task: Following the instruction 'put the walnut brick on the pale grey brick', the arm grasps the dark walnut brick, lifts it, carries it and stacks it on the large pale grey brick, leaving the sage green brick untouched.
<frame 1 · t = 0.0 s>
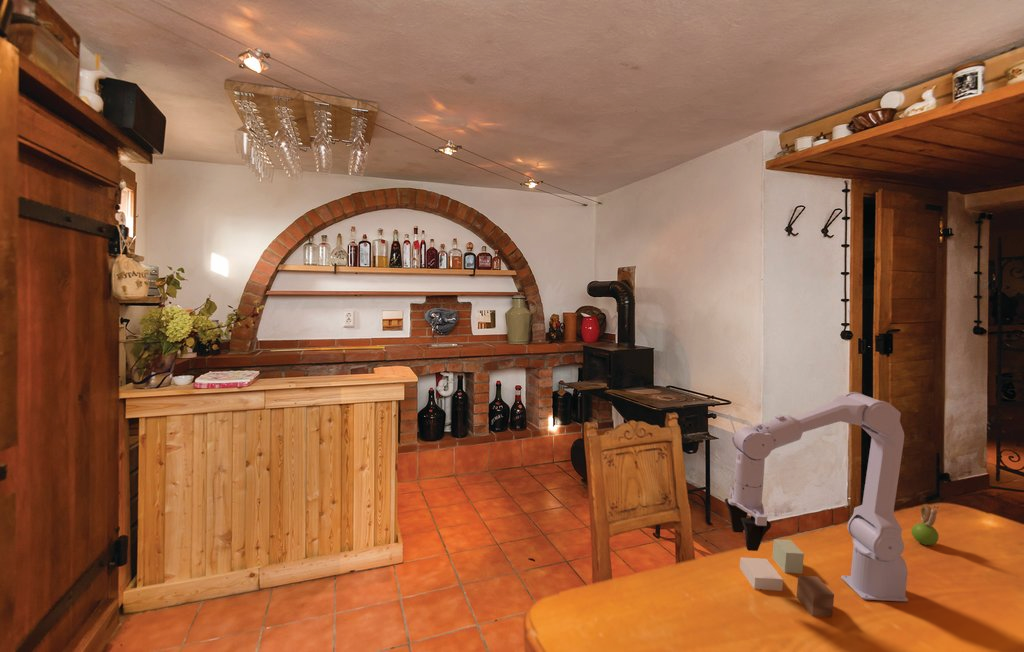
hand: (744, 540, 108), 10 cm above the table, tool pointing down, fingers open, 7 cm apart
pale grey brick: (760, 580, 111), on the table
green egg with ears: (924, 545, 127), on the table
walnut brick: (813, 607, 102), on the table
sage brick: (786, 565, 116), on the table
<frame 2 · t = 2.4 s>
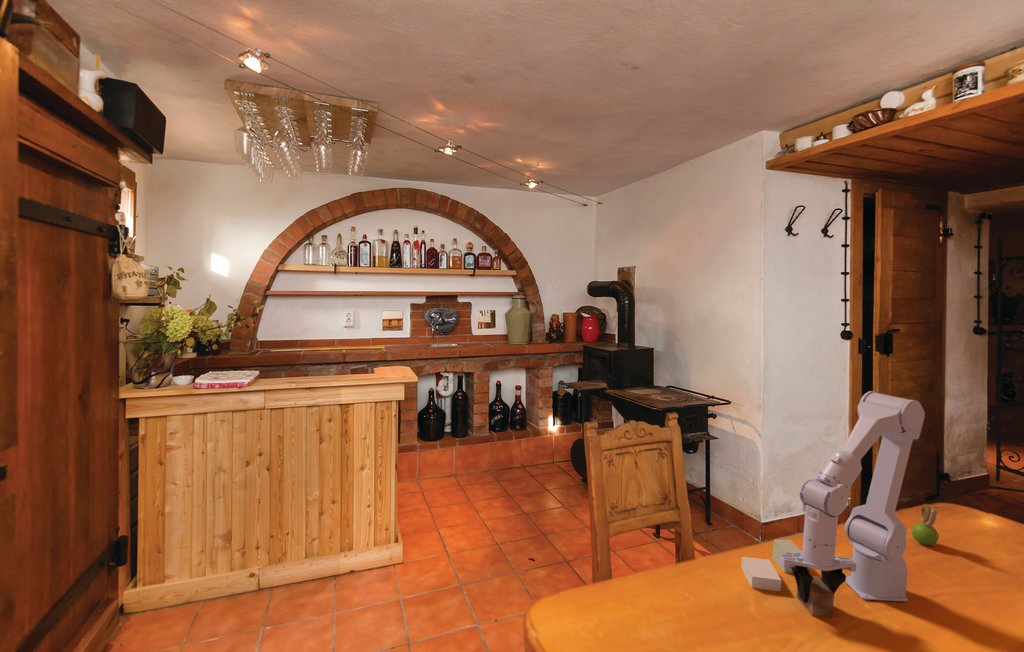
hand: (814, 600, 101), 1 cm above the table, tool pointing down, fingers closed on walnut brick, 4 cm apart
walnut brick: (813, 606, 102), on the table, touching gripper
everything else where it was.
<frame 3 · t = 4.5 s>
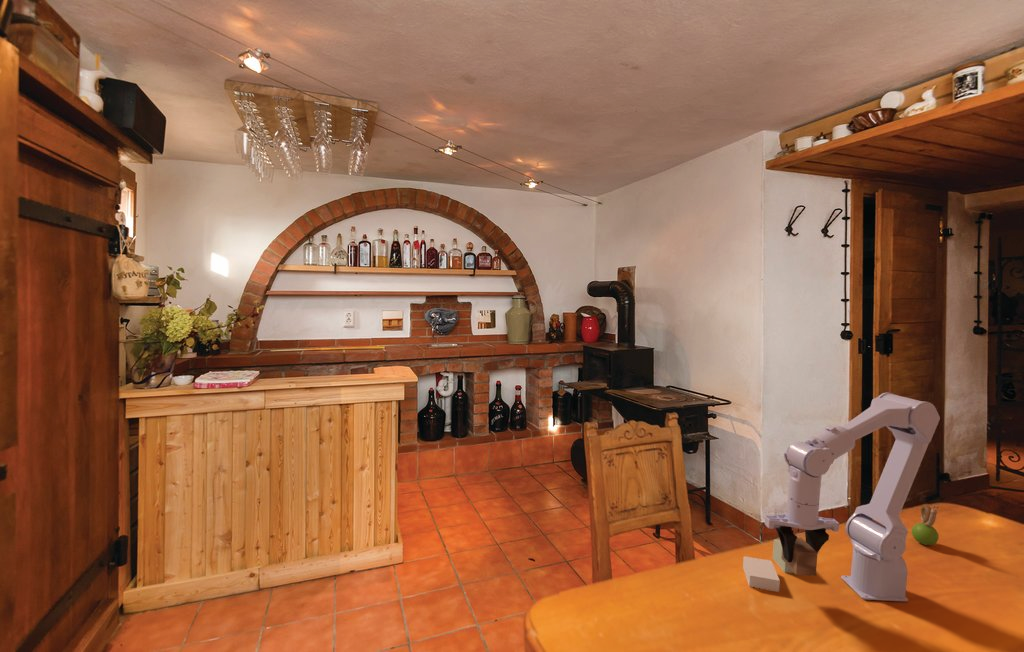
hand: (798, 560, 104), 8 cm above the table, tool pointing down, fingers closed on walnut brick, 4 cm apart
walnut brick: (798, 566, 104), point 7 cm above the table, touching gripper
everything else where it was.
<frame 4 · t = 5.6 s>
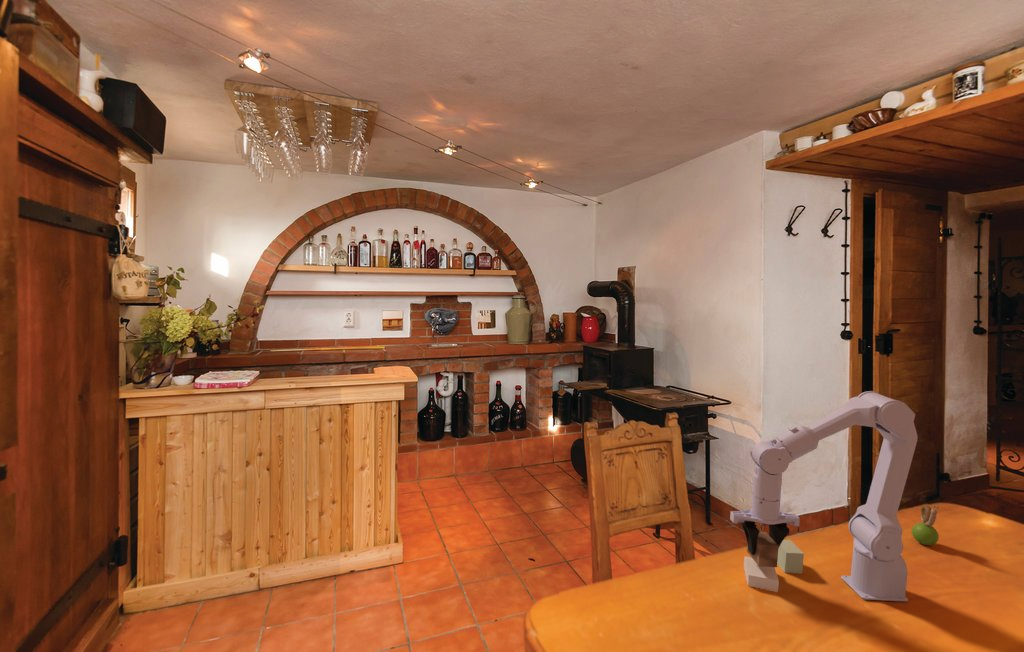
hand: (761, 553, 110), 6 cm above the table, tool pointing down, fingers closed on walnut brick, 4 cm apart
walnut brick: (761, 559, 110), point 5 cm above the table, touching gripper
everything else where it was.
when the fingers open (5 cm above the table, at t = 6.6 s): walnut brick drops 1 cm, resting on pale grey brick.
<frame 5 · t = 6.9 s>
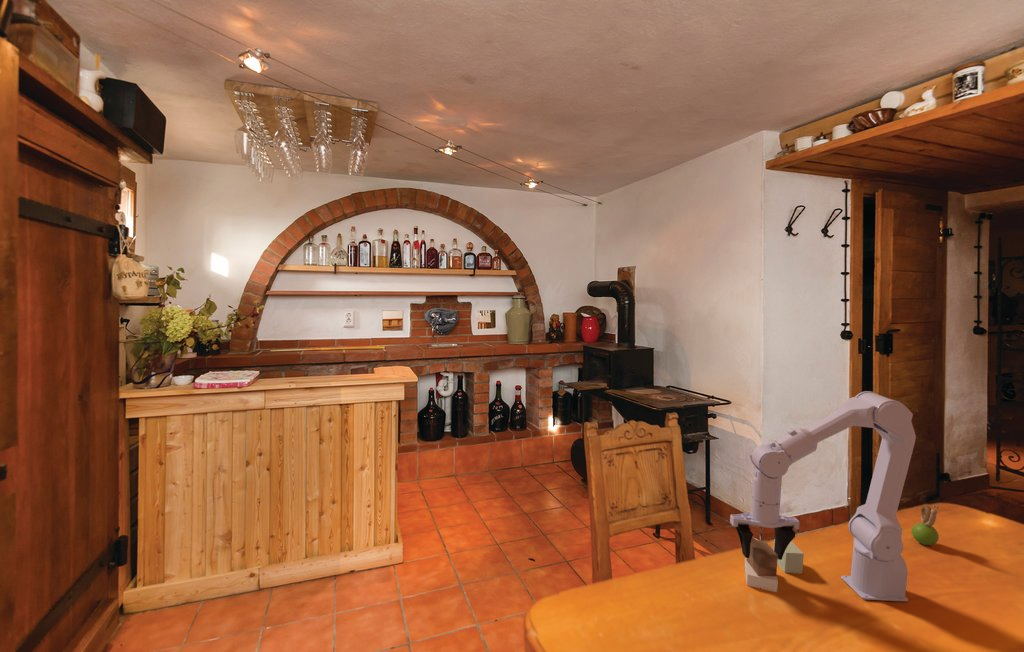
hand: (761, 556, 110), 5 cm above the table, tool pointing down, fingers open, 7 cm apart
pale grey brick: (760, 580, 111), on the table, touching walnut brick
walnut brick: (760, 568, 111), point 3 cm above the table, touching pale grey brick
everything else where it was.
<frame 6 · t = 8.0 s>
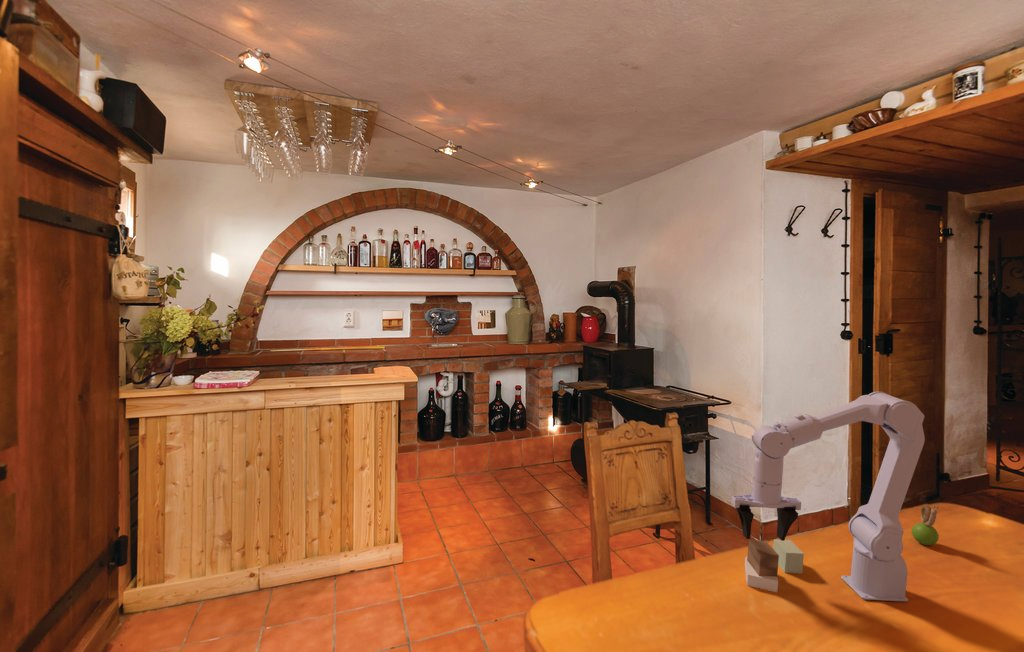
hand: (763, 537, 110), 10 cm above the table, tool pointing down, fingers open, 7 cm apart
nothing on the table moved.
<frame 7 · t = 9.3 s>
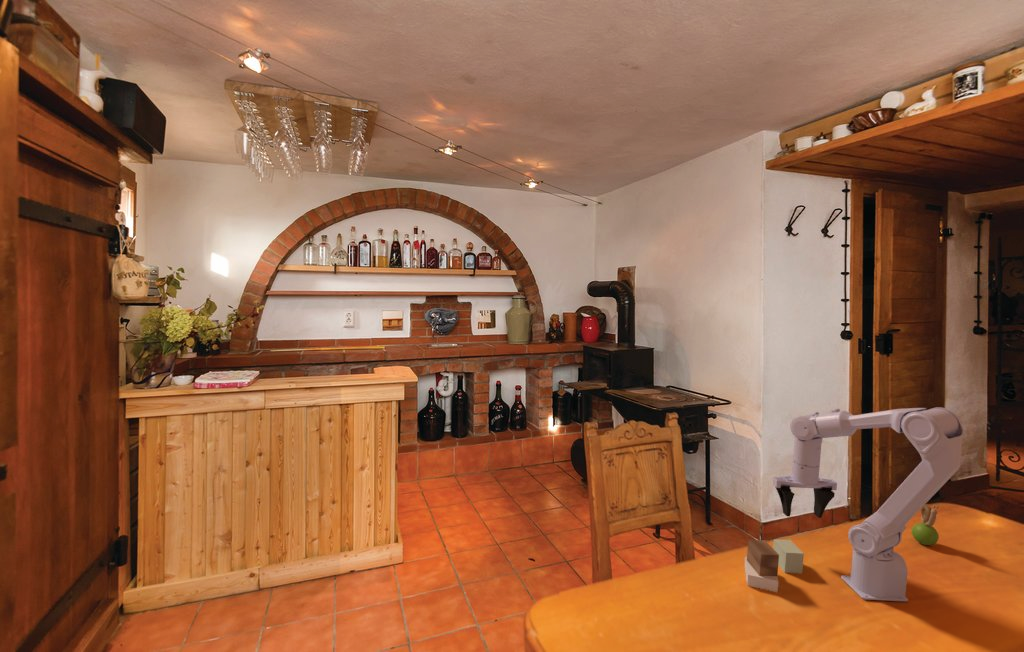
hand: (802, 515, 121), 10 cm above the table, tool pointing down, fingers open, 7 cm apart
nothing on the table moved.
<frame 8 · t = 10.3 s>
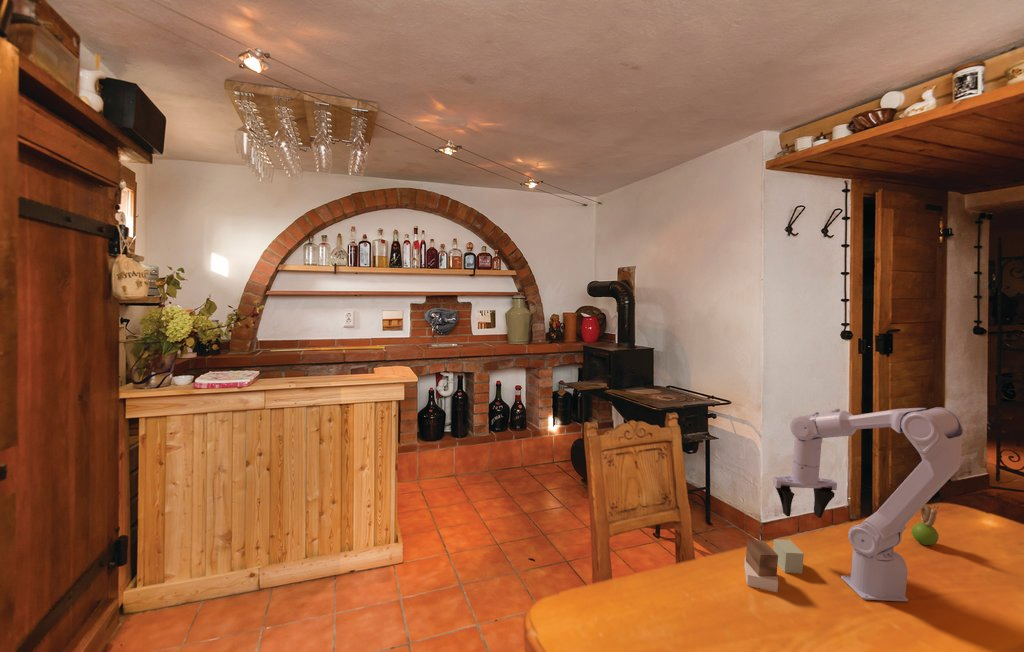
hand: (802, 515, 121), 10 cm above the table, tool pointing down, fingers open, 7 cm apart
nothing on the table moved.
at the end: walnut brick 0.1 cm off-centre on the pale grey brick, point 3.0 cm above the pale grey brick's base; walnut brick tilted 0°; sage brick moved 0.1 cm from its start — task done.
